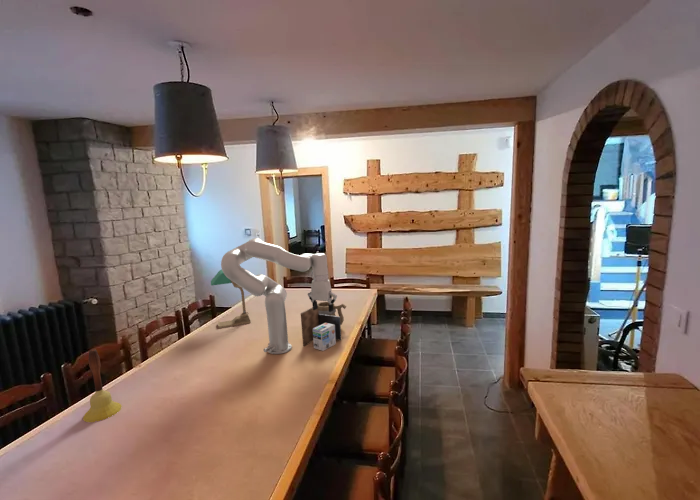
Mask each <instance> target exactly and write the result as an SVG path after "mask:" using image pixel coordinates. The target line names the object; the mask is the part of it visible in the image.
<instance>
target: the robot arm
mask: <svg viewBox="0 0 700 500" xmlns="http://www.w3.org/2000/svg"><path fill="white" fill-rule="evenodd" d="M252 258H256V259H260V260H263V261H267V262H271V263H274V264H276V265H278V266H281V267H283V268H287V269H290V270H294V271H298V272H302V273H303V272H307V271H309V270H310V268H312V275H311V278H312V281H311V287H310V288H311V289H310V291H309V292H308V293H307V296H308V298H309V300H310V302H311V304H312V307H313V310H316V309H317V308H318V307H317V304H318V301H319V302H328V303H329V305H328V306H329V312H331V311H333V303H335V302H336V301H337V297H338V295H337V294H335V293H334V292H333V291H332V286H331V281H330V279H329V270H328V258H327V254H325V253H324V252H317V253H302V254H300V255H299V254H294V253H292V252H289V251H288V250H285V249H284V248H283V247H281V246H280V245H276V244H272V243H268V242H265V241H263V239H261V238H258V237H254V238H252V239H249V240H248V241H246V242H245V243H242V244H241V245H238V246H236V247H235V248H233V249H230V250H228V251H227V252H225V253H224V254H223V256H222V258H221V261H220V267H221V269H222V271H223V273H224V274H225V276H226V277H227V278H229V279H230V280H231V281H233V282H235V283H236V284H238V285H239V286H240V287H242V289H243V290H245V291H246V292H248V293H249V294H250V295H253V296H254V297H261V296H264V297H265V299H264V307H265V312H266V318H267V331H268V342H269V343H268V344H267V345H268V346H267V347H264V348H263V352H264V353H269V354H270V355H271V354H272V355H280V354H281V355H282V354H286V353H288V352H290V351H291V350H292V344H291V343H290V342H289V336H288V321H287V312H286V305H285V303H286V302H285V301H286V299H287V294H288V293H287V290H286V289H285V287H284V286H282V285H281V284H280V283H278V282H276V281H275V280H274V279H272V278H271V277H269V276H267V275H264V274H262V273H261V274H259V273H258V274H254V273H252V272H251V271H249V270H248V269H246V268H244V267H242V266H241V265H242V264H243V263H244V262H246V261H249V260H250V259H252Z"/></svg>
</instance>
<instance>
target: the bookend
mask: <svg viewBox="0 0 700 500" xmlns="http://www.w3.org/2000/svg"><path fill="white" fill-rule="evenodd" d="M318 320H319V325H322V324H324V323H329V324H333V325H335V338H336V340H337V341H342V328H341V326H342V325H341V324H340V317H339V315H338V316H337V315H336V316H331V315H324V314H318Z"/></svg>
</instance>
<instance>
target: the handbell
mask: <svg viewBox="0 0 700 500" xmlns="http://www.w3.org/2000/svg"><path fill="white" fill-rule="evenodd" d="M88 364H89V365H88V367H89V368H90V371H91V372H92V375H93V376H92V377H93V382H94V388H95V389H94V390H95V392H94V393H93V394H92V395H91V396H90V398H89V407H90V408H89V409H88V410H87V411H86V412H85V413H84V415H83V417H82V419H83V421H84V422H86V423H96V422H95V421H97V422H100V420H101V421H104V420H107V419H109V418H111V417H113V416H115V415H116V414H118V413H119V412H120V411H121V410H122V408H123V406H122V404H121V403H120V402H117V401H114V400H113V399H112V398H113V397H112V395H111V392H110V391H107V390H104V389H103V384H102V378H101V366H102V365H101V359H100V355H99V354H98V350H97V349H96V348H95V349H92V348H91V349H90V350H89V351H88ZM121 407H122V408H121ZM117 412H118V413H117ZM112 415H113V416H112ZM108 417H109V418H108ZM106 418H107V419H106ZM103 419H104V420H103Z"/></svg>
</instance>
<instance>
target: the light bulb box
mask: <svg viewBox="0 0 700 500" xmlns="http://www.w3.org/2000/svg"><path fill="white" fill-rule="evenodd" d="M312 342H313V348H314V349H316V350H318V351H322V352H324V351H326V350H327V349H329V348H331V347H333V346H335V345H336V344H337V341H336V338H335V325H333V324H329V323H324V324H322V325H319V326H317V327H315V328H313V341H312Z"/></svg>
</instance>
